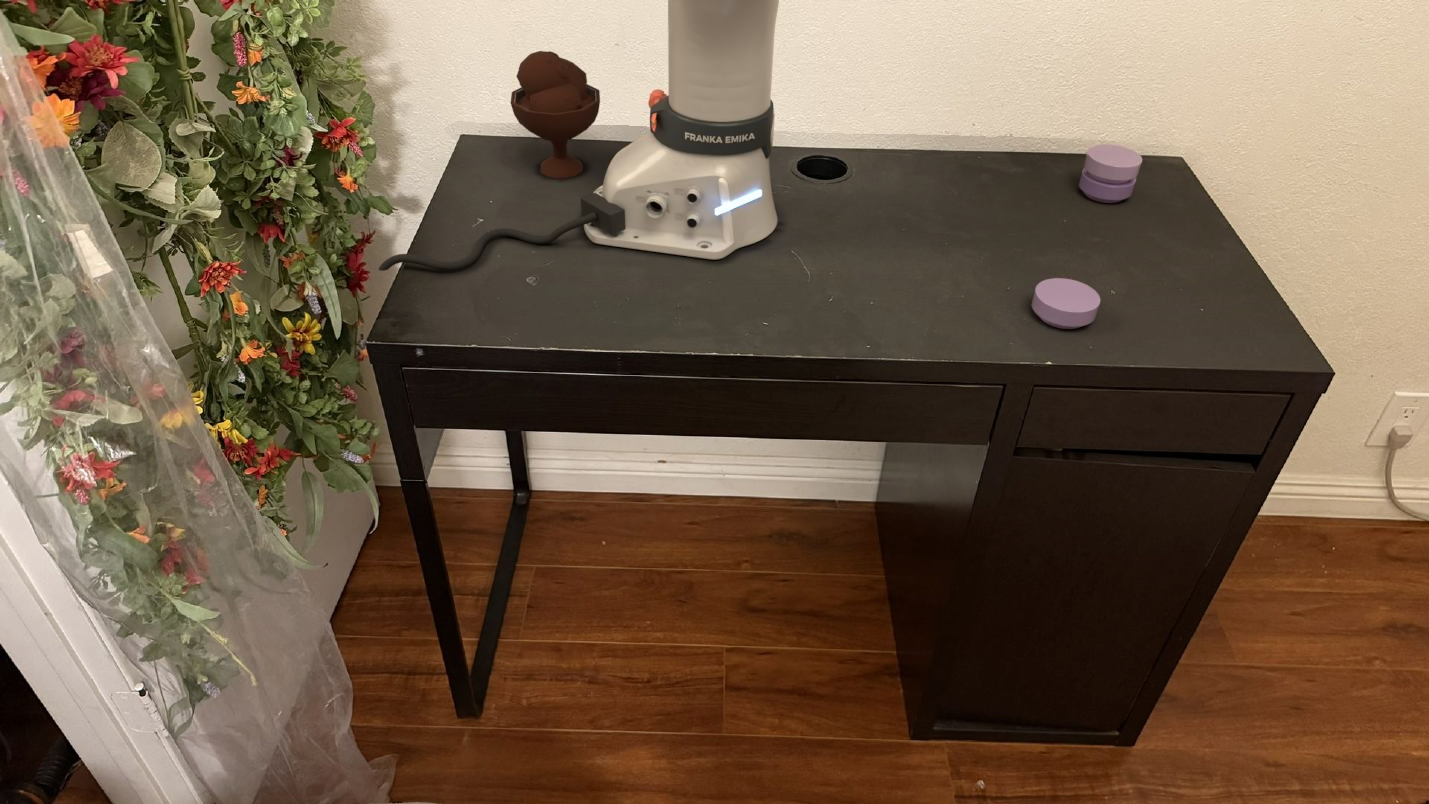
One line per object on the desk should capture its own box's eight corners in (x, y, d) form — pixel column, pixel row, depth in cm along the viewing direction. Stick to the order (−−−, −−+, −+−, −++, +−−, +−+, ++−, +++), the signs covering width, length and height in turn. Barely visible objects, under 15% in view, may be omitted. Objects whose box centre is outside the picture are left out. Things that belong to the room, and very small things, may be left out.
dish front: (1037, 332, 99) (1043, 310, 98) (1023, 297, 104) (1029, 276, 103) (1101, 334, 99) (1108, 313, 98) (1084, 300, 104) (1091, 278, 103)
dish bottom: (1084, 205, 121) (1089, 186, 120) (1071, 181, 126) (1076, 162, 125) (1137, 207, 121) (1143, 187, 120) (1121, 183, 126) (1127, 164, 125)
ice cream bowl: (591, 192, 121) (584, 70, 112) (504, 182, 123) (490, 61, 113) (615, 155, 129) (610, 39, 120) (533, 146, 131) (522, 31, 121)
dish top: (1089, 186, 120) (1095, 166, 118) (1076, 162, 125) (1081, 143, 123) (1143, 187, 120) (1149, 167, 118) (1127, 164, 125) (1133, 145, 123)
